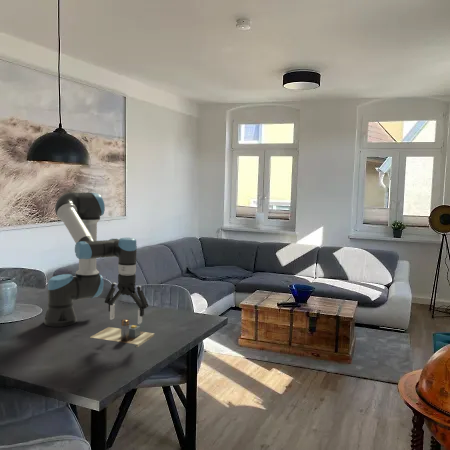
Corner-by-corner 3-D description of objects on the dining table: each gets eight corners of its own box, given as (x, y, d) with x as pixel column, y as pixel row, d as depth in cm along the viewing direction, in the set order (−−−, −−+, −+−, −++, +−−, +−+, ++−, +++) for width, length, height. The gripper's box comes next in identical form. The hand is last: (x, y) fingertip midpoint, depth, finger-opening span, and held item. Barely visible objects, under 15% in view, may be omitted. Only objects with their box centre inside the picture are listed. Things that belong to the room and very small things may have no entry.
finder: (121, 336, 208) (121, 326, 208) (126, 332, 213) (126, 323, 213) (134, 338, 206) (135, 328, 206) (140, 334, 211) (140, 325, 211)
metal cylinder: (119, 341, 202) (120, 320, 201) (123, 338, 205) (124, 318, 204) (126, 342, 201) (127, 321, 200) (130, 339, 204) (130, 319, 203)
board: (89, 339, 206) (89, 337, 206) (108, 329, 221) (108, 327, 221) (137, 347, 199) (137, 344, 199) (154, 335, 214) (154, 333, 214)
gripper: (97, 272, 200) (96, 319, 203) (149, 278, 193) (147, 327, 195) (106, 269, 208) (105, 314, 210) (156, 275, 200) (155, 322, 203)
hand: (125, 321), depth 203 cm, fingers open, 13 cm apart
